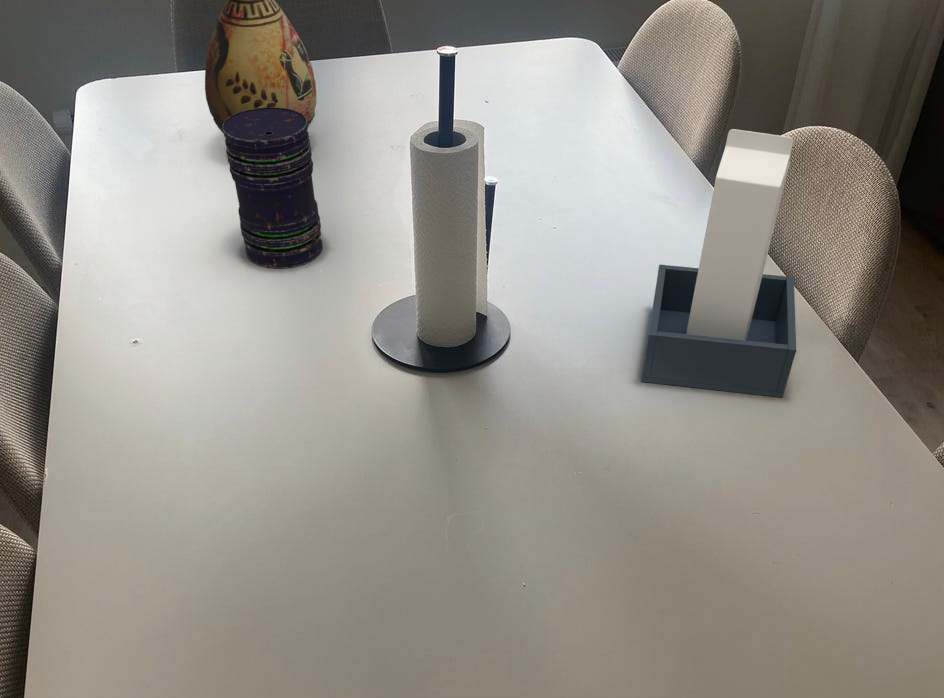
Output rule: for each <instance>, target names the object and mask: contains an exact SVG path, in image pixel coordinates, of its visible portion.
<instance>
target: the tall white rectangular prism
mask: <svg viewBox="0 0 944 698" xmlns="http://www.w3.org/2000/svg"><path fill="white" fill-rule="evenodd" d="M793 145H794V138H793V137H791V136H786V135H779V134H771V133H765V132H756V131H750V130H744V129H743V130H742V129H735V128H731V129H729V131H728V133H727V137H726V142H725V147H724V150H723V153H722V156H721V159H720V162H719V165H718V169H717V172H716V176H715V180H714V186H713V190H712V196H711V202H710V206H709V212H708V217H707V223H706V227H705V231H704V232H705V233H704V238H703V244H702V249H701V255H700V259H699V264H698V268H699V269H698V275H697V280H696V285H695V290H694V296H693V301H692V306H691V312H690V317H689V322H688V327H687V333H686V334H689V335H698V336H708V337H718V338H727V339H737V340H746V339H747V336H748V332H749V328H750V324H751V320H752V316H753V312H754V308H755V304H756V300H757V296H758V291H759V287H760V283H761V279H762V275H763V274H764V271H765V267H766V263H767V258H768V254H769V251H770V247H771V243H772V239H773V235H774V230H775V226H776V221H777V218H778V213H779V210H780V206H781V201H782V197H783V194H784V189H785V184H786V182H787V177H788V173H789V169H790V165H791V153H792V151H793V150H792V149H793Z"/></svg>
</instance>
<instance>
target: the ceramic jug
mask: <svg viewBox="0 0 944 698" xmlns="http://www.w3.org/2000/svg"><path fill="white" fill-rule="evenodd" d="M314 74H315V73H314V69H313V66H312V64H311V60H310V57H309V55H308V52H307V50H306V47H305V46H304V42H303V41H302V40H301V38H300V37H299V34H298V32H297V31H296V30H295V28H294V26H293V25H292V23H291V21H290V20H289V19H288V17H287V15H286V13H285V12H284V11H283V9H282V8H281V7H280V5H279V3H277V2H276V0H225V2H224V6H223V9H222V11H221V13H220V15H219V17H218V19H217V23H216V25H215V27H214V30H213V32H212V35H211V38H210V41H209V43H208V48H207V53H206V59H205V71H204V92H205V100H206V103H207V107H208V110H209V113H210V115H211V117H212V118H213V122H214V123H215V125H216V127H217V128H218V130H219V131H220V132H221V133H222V134H223V135H224V133H223V127H222V126H223V123H224V122H225V120H226V119H228V118H229V117H230V116H232V115H234V114H236V113H239V112H242V111H246V110H250V109H255V108H265V107H278V108H286V109H291V110H295V111H297V112H299V113H301V114H303V115H304V116H305V117H306V119H307V126H308V128H309V127H310V125H311V124H312V123H313V121H314V119H315V116H316V107H317V83H316V79H315V75H314Z"/></svg>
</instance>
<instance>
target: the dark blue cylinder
mask: <svg viewBox="0 0 944 698" xmlns="http://www.w3.org/2000/svg"><path fill="white" fill-rule="evenodd" d="M222 127H223V133H224V134H223V133H222V134H223V137H224V143H225V153H226V157H227V163H228V164H229V173H230V175H231V178H232V180H233V182H234V185H235V190H236V196H237V201H238V209H237V211H238V218H239V228H240V232H241V236H242V238H243V243H244V245H245V255H246V257H247V258H248V260H249V261H250V262H252V263H253V264H255V265H257V266H260V267H264V268H269V269H278V270H279V269H291V268H296V267H301V266H303V265H306V264H309V263H311V262H313V261H314V260H316V259H317V258H318V257H319V256H320V255H321V254H322V252H323V247H324V246H323V241H322V238H321V237H322V232H321V231H322V224H321V217H320V215H319V206H318V203H317V201H316V198H315V190H314V182H313V175H312V174H313V173H314V172H313V171H314V169H313V168H314V162H313V158H312V157H313V156H312V155H313V153H312V152H313V151H312V144H311V142H310V135H309V134H310V133H309V131H308V129H309V127H308V126H307V119H306V117H305V116H304V115H303V114H301V113H299V112H297V111H295V110H291V109H286V108H278V107H265V108H255V109H250V110H246V111H242V112H239V113H236V114H234V115H232V116H230V117H229V118H228V119H226V120H225V122H224V123H223V126H222Z"/></svg>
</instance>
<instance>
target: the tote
mask: <svg viewBox="0 0 944 698" xmlns="http://www.w3.org/2000/svg"><path fill="white" fill-rule="evenodd" d="M698 269H699V267H691V266H679V265H669V264H667V265H666V264H659V265H658V270H657V276H656V284H655V289H654V294H653V295H654V296H653V301H652V303H653V304H652V308H651V315H650V322H649V328H648V334H647V335H648V336H647V341H646V349H645V355H644V361H643V368H642V375H641V383H649V384H659V385H667V386H677V387H684V388H695V389H704V390H712V391H721V392H731V393H740V394H749V395H759V396H767V397H776V398H783V397H784V394H785V391H786V390H785V389H786V387H787V384H788V380H789V377H790V374H791V370H792V367H793V363H794V359H795V357H796V353H797V329H796V327H797V326H796V301H795V277H794V276H789V275H788V276H785V275H777V274H765V273H763V275H762V279H761V283H760V287H759V291H758V296H757V300H756V304H755V308H754V312H753V316H752V320H751V324H750V328H749V332H748V336H747V339H746V340H737V339H727V338H718V337H708V336H698V335H689V334H686V333H687V327H688V322H689V317H690V312H691V306H692V301H693V296H694V290H695V285H696V280H697V275H698Z"/></svg>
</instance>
